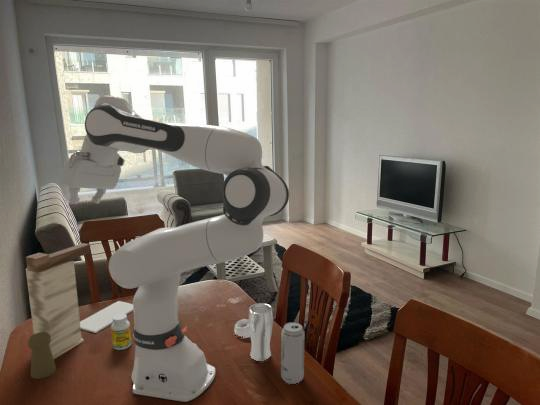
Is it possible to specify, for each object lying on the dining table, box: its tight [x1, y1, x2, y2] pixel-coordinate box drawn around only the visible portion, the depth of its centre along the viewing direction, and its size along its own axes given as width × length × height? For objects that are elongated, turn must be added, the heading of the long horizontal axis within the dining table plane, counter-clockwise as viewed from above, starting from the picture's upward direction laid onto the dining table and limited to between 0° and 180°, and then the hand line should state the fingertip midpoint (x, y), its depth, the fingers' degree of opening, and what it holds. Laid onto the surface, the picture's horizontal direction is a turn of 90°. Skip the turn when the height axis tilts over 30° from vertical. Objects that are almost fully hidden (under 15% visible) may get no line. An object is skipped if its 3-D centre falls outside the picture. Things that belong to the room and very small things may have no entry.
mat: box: [80, 300, 134, 334], centre depth 135 cm, size 10×20×1 cm, turn 157°
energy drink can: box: [280, 321, 306, 385], centre depth 101 cm, size 6×6×15 cm
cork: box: [27, 332, 57, 380], centre depth 104 cm, size 6×6×11 cm
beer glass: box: [248, 302, 274, 362], centre depth 111 cm, size 7×7×15 cm
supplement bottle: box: [110, 314, 132, 351], centre depth 116 cm, size 5×5×10 cm
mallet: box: [25, 242, 92, 273], centre depth 115 cm, size 4×18×4 cm, turn 157°
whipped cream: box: [233, 318, 250, 339], centre depth 124 cm, size 8×7×5 cm
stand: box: [25, 260, 84, 360], centre depth 114 cm, size 9×10×26 cm
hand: (84, 203), depth 105 cm, fingers open, 8 cm apart
